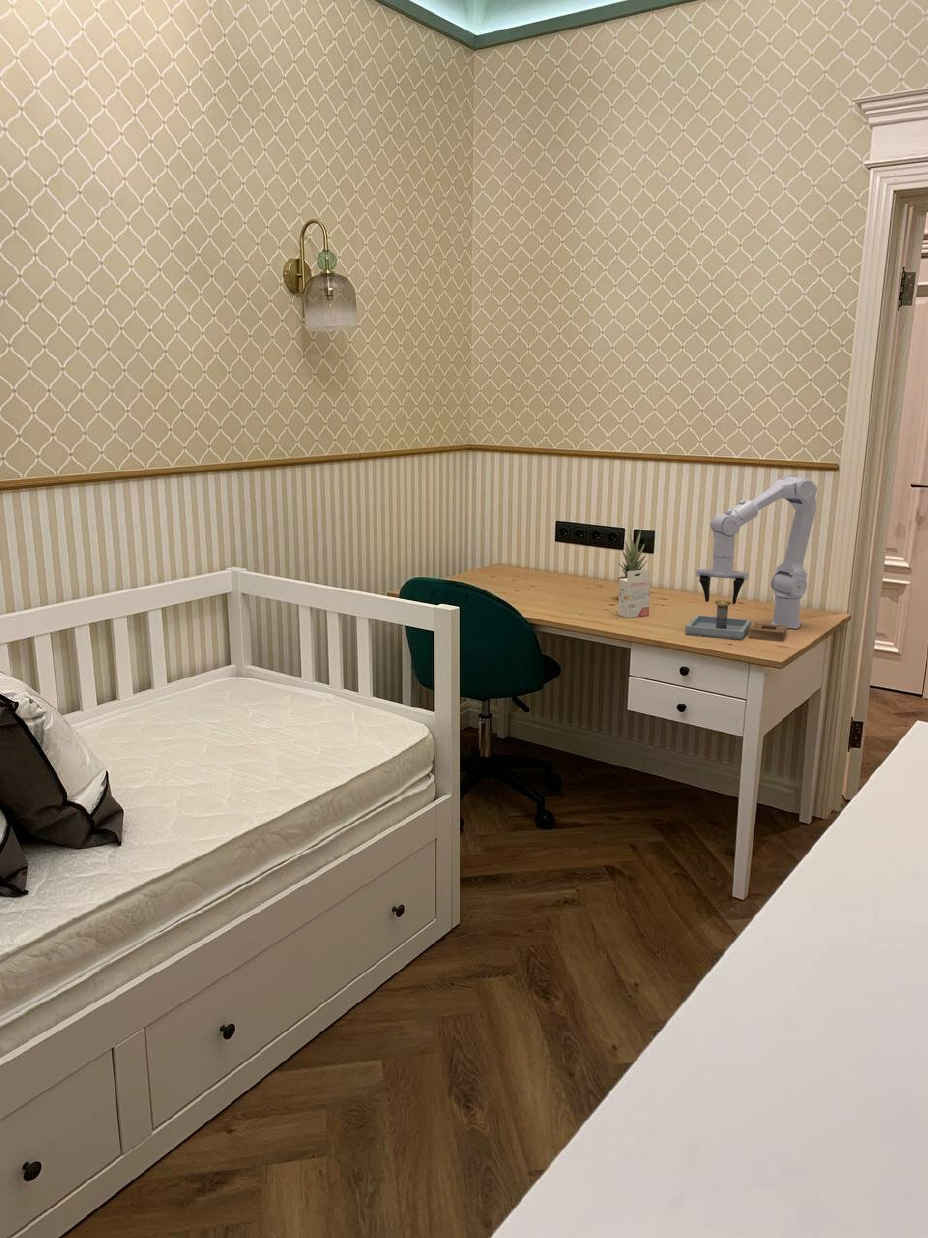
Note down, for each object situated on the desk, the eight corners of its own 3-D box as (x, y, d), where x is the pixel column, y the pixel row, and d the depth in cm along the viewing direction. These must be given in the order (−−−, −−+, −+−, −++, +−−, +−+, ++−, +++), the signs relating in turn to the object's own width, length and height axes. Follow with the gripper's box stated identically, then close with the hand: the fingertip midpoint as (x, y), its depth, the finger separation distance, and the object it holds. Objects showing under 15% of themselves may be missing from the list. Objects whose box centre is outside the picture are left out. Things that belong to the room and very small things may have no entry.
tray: (696, 622, 294) (696, 614, 293) (750, 628, 287) (751, 619, 287) (685, 634, 279) (685, 626, 279) (742, 640, 273) (743, 631, 272)
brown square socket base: (754, 631, 283) (754, 622, 283) (786, 634, 280) (787, 625, 279) (749, 638, 275) (750, 629, 275) (782, 641, 272) (783, 632, 271)
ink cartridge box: (640, 612, 307) (642, 567, 304) (649, 616, 303) (651, 569, 299) (617, 615, 304) (618, 568, 301) (625, 618, 299) (627, 571, 296)
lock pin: (714, 627, 286) (716, 599, 284) (730, 628, 284) (731, 600, 282) (712, 630, 282) (713, 602, 280) (727, 632, 280) (729, 603, 278)
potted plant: (636, 596, 332) (639, 524, 327) (650, 601, 324) (653, 528, 318) (610, 597, 329) (612, 525, 324) (623, 603, 321) (626, 529, 315)
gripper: (695, 556, 278) (692, 603, 281) (747, 559, 272) (744, 607, 275) (699, 552, 284) (697, 598, 287) (750, 556, 278) (747, 602, 281)
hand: (720, 602), depth 281 cm, fingers open, 7 cm apart
